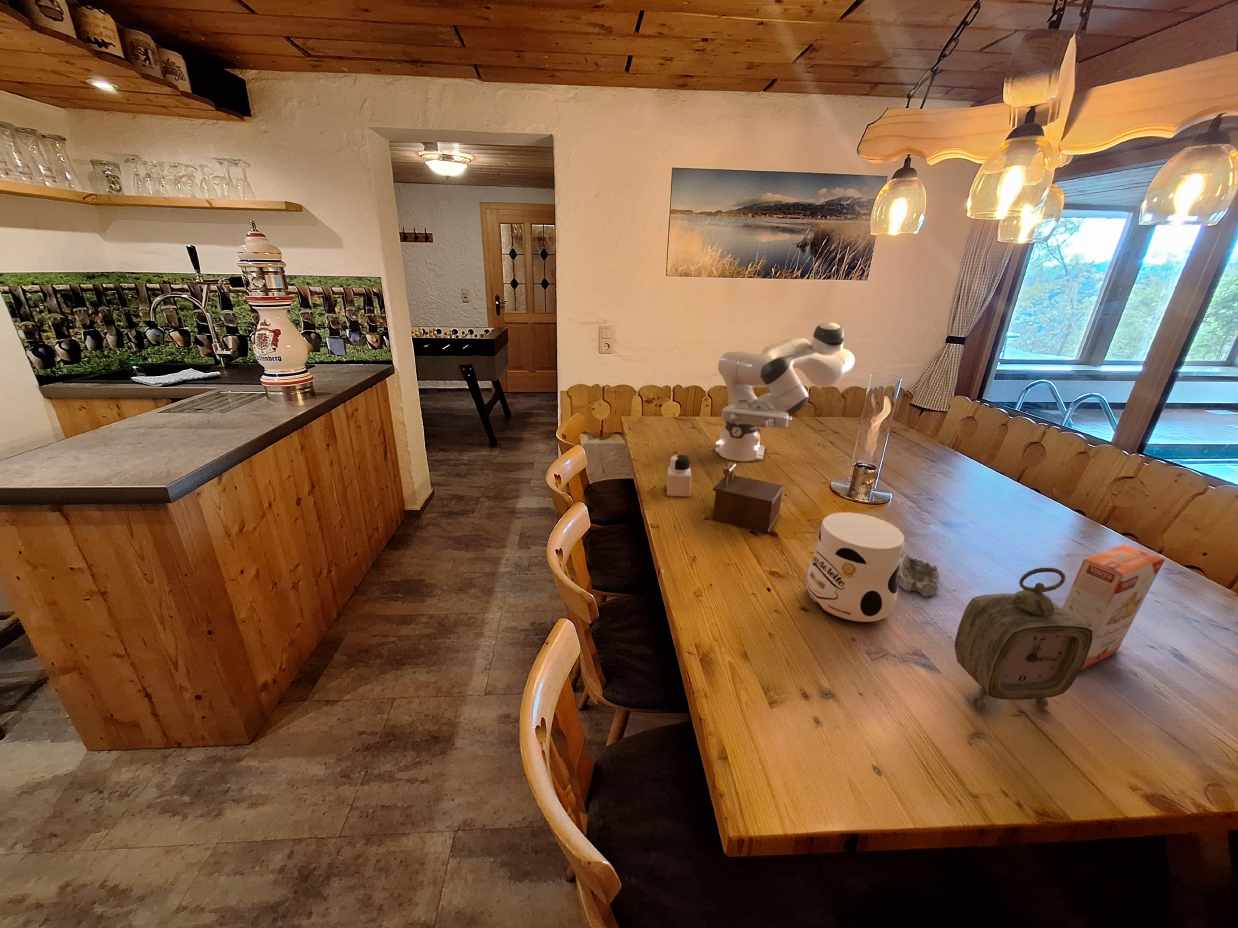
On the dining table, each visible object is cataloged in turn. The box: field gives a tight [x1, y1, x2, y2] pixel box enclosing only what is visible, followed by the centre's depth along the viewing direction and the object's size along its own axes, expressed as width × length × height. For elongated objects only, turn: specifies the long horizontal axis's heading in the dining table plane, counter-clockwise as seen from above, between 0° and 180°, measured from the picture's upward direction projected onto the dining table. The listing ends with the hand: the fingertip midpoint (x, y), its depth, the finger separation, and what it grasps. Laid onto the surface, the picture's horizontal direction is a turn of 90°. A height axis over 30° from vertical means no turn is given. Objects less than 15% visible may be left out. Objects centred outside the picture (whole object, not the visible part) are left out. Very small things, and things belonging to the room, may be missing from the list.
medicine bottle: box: [666, 454, 692, 498], centre depth 155 cm, size 7×7×12 cm
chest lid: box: [712, 462, 784, 504], centre depth 137 cm, size 16×13×6 cm
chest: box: [712, 487, 784, 534], centre depth 139 cm, size 16×13×9 cm
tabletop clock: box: [954, 567, 1092, 710], centre depth 78 cm, size 14×9×25 cm, turn 93°
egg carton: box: [899, 555, 940, 597], centre depth 111 cm, size 11×8×4 cm
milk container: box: [805, 512, 905, 624], centre depth 101 cm, size 17×17×18 cm
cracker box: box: [1061, 543, 1166, 671], centre depth 88 cm, size 14×6×21 cm, turn 114°
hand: (748, 422), depth 146 cm, fingers open, 8 cm apart
